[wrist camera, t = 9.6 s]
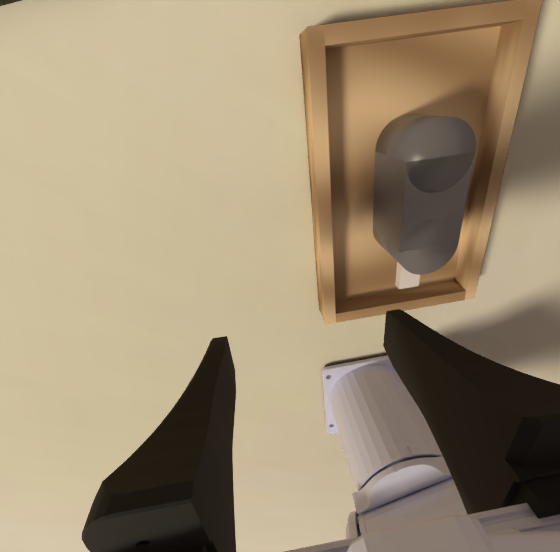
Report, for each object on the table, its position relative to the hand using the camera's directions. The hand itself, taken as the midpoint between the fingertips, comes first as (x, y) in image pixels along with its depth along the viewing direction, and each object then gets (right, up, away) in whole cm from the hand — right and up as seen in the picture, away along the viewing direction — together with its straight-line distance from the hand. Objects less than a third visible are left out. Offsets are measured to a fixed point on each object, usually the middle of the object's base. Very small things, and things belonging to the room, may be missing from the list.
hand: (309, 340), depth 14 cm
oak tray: (+6, +9, +7) cm, 13 cm away
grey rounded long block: (+7, +9, +6) cm, 13 cm away
